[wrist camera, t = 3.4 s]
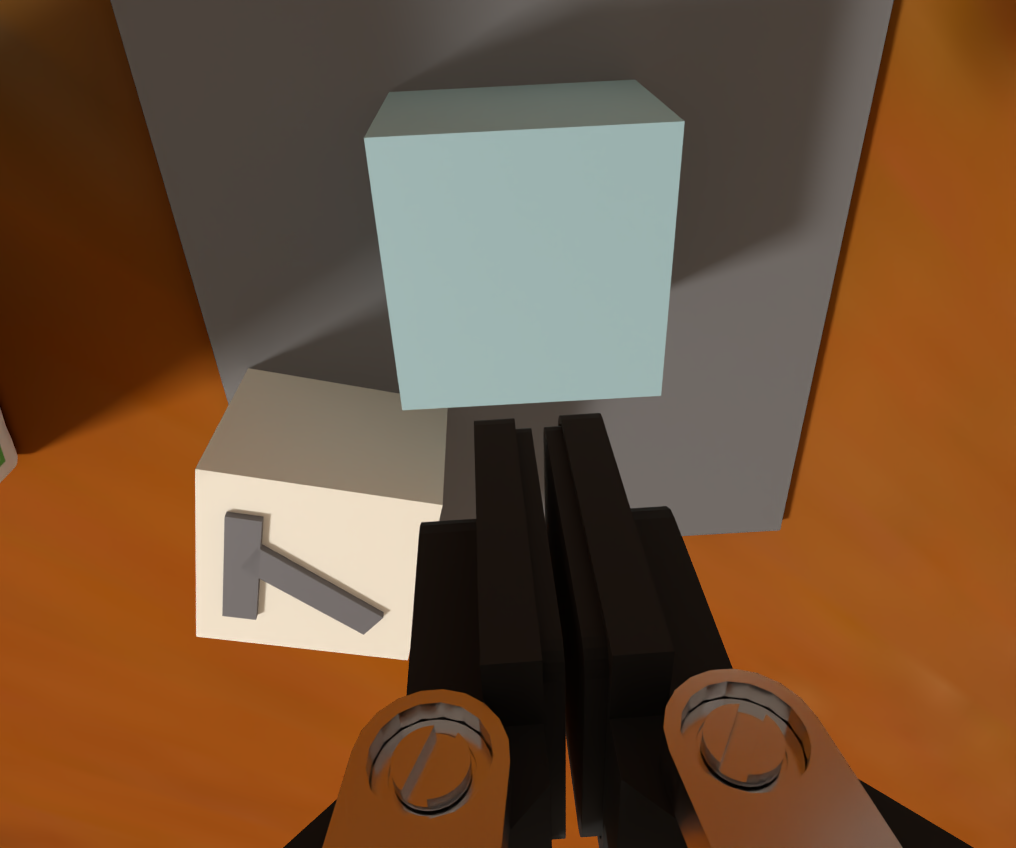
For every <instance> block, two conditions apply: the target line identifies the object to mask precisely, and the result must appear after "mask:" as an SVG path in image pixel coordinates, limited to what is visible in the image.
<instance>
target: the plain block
mask: <svg viewBox="0 0 1016 848" xmlns="http://www.w3.org/2000/svg"><path fill="white" fill-rule="evenodd" d="M684 123H685V121H684V120H683V119H681V118H680V117H679V116H678V115H677V114H675V113H674V112H673V111H672V110H671V109H670V108H668V107H667V106H666V105H665V104H664V103H662V102H661V101H660V100H659V99H658V98H656V97H655V96H654V95H653V94H652V93H651V92H649V91H648V90H647V89H646V88H645V87H643V86H642V85H641V84H640V83H639V82H638V81H636V80H616V81H596V82H577V83H557V84H537V85H518V86H498V87H478V88H459V89H439V90H419V91H400V92H389V93H388V95H387V97H386V99H385V100H384V102H383V104H382V106H381V108H380V109H379V111H378V113H377V115H376V117H375V118H374V120H373V122H372V124H371V126H370V127H369V129H368V131H367V133H366V135H365V137H364V143H365V150H366V157H367V164H368V171H369V178H370V185H371V192H372V200H373V207H374V214H375V221H376V228H377V235H378V242H379V249H380V256H381V263H382V270H383V277H384V285H385V292H386V299H387V306H388V313H389V320H390V327H391V334H392V341H393V348H394V355H395V362H396V370H397V377H398V384H399V391H400V398H401V405H402V410H416V409H434V408H452V407H470V406H488V405H506V404H523V403H541V402H559V401H577V400H595V399H612V398H630V397H648V396H661V391H662V379H663V368H664V356H665V344H666V333H667V321H668V310H669V298H670V286H671V275H672V263H673V251H674V240H675V228H676V216H677V205H678V193H679V181H680V170H681V158H682V146H683V135H684Z"/></svg>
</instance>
